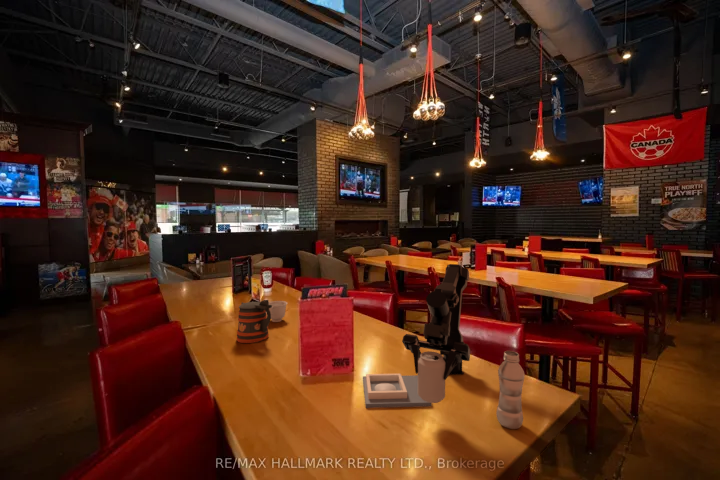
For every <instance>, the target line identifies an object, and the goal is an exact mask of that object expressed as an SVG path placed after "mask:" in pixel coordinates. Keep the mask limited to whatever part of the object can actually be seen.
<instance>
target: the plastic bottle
mask: <svg viewBox="0 0 720 480" xmlns="http://www.w3.org/2000/svg"><path fill="white" fill-rule="evenodd" d="M503 360H504V361H502V363H501V364H500V365H499V366H498V369H497V374H498V382H499V383H498V384H499V396H498V403H497V404H498V405H497V408H496V414H495V415H496V419H497V421H498V422H499V424H500V425H501V426H502V427H504V428H506V429H509V430H511V429H512V430H516V429H517V430H518V429H520V428H521V427H522V426H523V421H524V414H523V408H522V394H523V387H524V386H523V385H524V383H525V382H524V381H525V375H526V374H525V371H524V369H523V368H522V366H521V365H520V354H519V353H518V352H516V351H512V350H506V351H504V352H503Z"/></svg>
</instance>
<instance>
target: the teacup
mask: <svg viewBox="0 0 720 480" xmlns="http://www.w3.org/2000/svg"><path fill="white" fill-rule="evenodd" d="M269 305H272V308H269V310H270V313H271V319H270V320H271V322H273V323H280V322H282V321H283V318H284V317H285V315H286V309H287V305H288V302H287V301H285V300H274V301H273V300H271V301H269Z"/></svg>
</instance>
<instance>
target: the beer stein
mask: <svg viewBox="0 0 720 480" xmlns="http://www.w3.org/2000/svg"><path fill="white" fill-rule="evenodd" d="M269 302H270V301H269V299H263V300H261V301H249V302H242V301H241V304H240V305H239V306H238V309H239V311H238V316H237V317H238V318H237V321H238V325H237V330H236V341H237V342H238V343H240V344H253V343H259V342H262V341H265V340H267V339H268V338H269V336H270V334H269V325H270V323H271V320H272V319H271V313H270V310H269V308H272V305H269Z"/></svg>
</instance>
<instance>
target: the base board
mask: <svg viewBox="0 0 720 480" xmlns="http://www.w3.org/2000/svg"><path fill="white" fill-rule="evenodd" d="M362 385H363V395H364V396H363V397H364V405H365V406H364V407H365V409H370V408H371V409H372V408H373V409H374V408H375V409H376V408H378V409H379V408H409V407H410V408H412V407H413V408H414V407H415V408H418V407H420V408H421V407H423V408H424V407H433V406H432V405H433V403H429V402H426V401H424V400H422V398H421V397H420V396H419V395H418V374H417V375H402V373H366V374H365V375H363V376H362Z"/></svg>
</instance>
